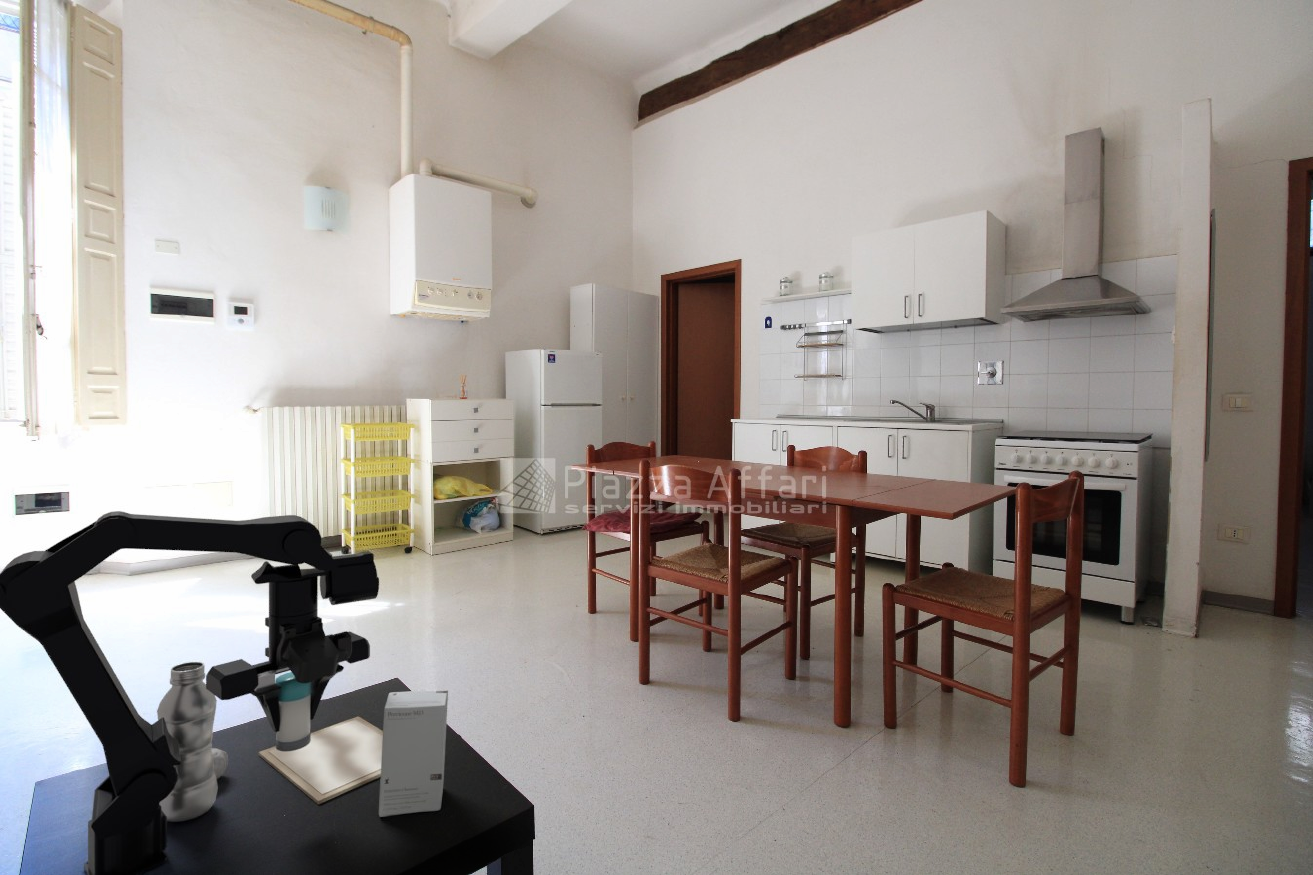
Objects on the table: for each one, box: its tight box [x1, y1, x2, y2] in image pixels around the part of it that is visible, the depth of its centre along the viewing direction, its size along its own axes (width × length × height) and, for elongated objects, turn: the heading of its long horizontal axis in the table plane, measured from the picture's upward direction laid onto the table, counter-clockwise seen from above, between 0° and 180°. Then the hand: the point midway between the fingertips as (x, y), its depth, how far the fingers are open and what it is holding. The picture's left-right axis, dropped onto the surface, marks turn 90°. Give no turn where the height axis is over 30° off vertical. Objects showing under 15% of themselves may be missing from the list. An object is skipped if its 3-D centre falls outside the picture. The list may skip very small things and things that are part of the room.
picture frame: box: [258, 716, 383, 805], centre depth 102 cm, size 16×20×1 cm
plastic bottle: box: [156, 661, 219, 823], centre depth 86 cm, size 6×7×20 cm
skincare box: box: [378, 689, 449, 818], centre depth 90 cm, size 8×6×15 cm
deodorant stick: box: [275, 671, 312, 751], centre depth 87 cm, size 4×4×9 cm
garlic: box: [212, 747, 229, 781], centre depth 94 cm, size 6×5×5 cm
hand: (293, 724), depth 87 cm, fingers closed on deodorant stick, 4 cm apart
